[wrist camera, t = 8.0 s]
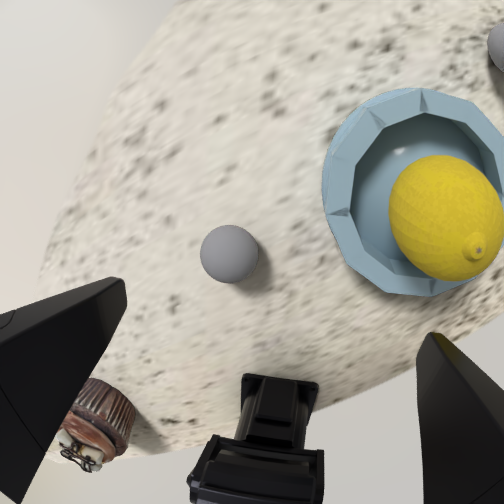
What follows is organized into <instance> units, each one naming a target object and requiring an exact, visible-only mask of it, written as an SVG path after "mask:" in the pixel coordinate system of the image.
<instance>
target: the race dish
mask: <svg viewBox="0 0 504 504" xmlns="http://www.w3.org/2000/svg"><path fill="white" fill-rule="evenodd" d="M430 155H449V156H452V157H455V158H459V159H462V160H464V161H466V162H468V163H469V164H471V165H472V166H474V167H475V168H476V169H478V170H479V171H480V172H481V173H482V174H483V175H484V176H485V177H486V178H487V179H488V181H489V182H490V183H491V185H492V186H493V187H494V189H495V190H496V192H497V194H498V196H499V199H500V201H501V204H502V207H503V211H504V137H503V136H502V135H501V133H500V132H499V131H498V130H497V129H496V127H495V126H494V125H493V124H492V123H491V122H490V121H489V119H488V118H487V117H486V116H485V115H484V114H483V113H482V112H481V111H480V110H479V108H478V107H477V106H476V105H475V104H474V103H472V102H470V101H467V100H464V99H460V98H457V97H453V96H450V95H447V94H444V93H441V92H438V91H435V90H430V89H424V88H405V89H397V90H393V91H389V92H386V93H382V94H380V95H378V96H375V97H373V98H371V99H369V100H368V101H366V102H365V103H363V104H362V105H360V106H359V107H358V108H356V109H355V110H354V111H353V112H352V113H351V114H350V115H349V116H348V117H347V118H346V119H345V121H344V122H343V123H342V124H341V125H340V127H339V129H338V130H337V132H336V133H335V135H334V136H333V139H332V141H331V143H330V145H329V148H328V150H327V154H326V157H325V160H324V166H323V172H322V197H323V206H324V210H325V214H326V218H327V221H328V223H329V226H330V229H331V231H332V233H333V235H334V236H335V238H336V240H337V242H338V244H339V247H340V249H341V252H342V254H343V256H344V259H345V261H346V263H347V264H348V265H349V266H350V267H352V268H353V269H355V270H356V271H357V272H359V273H360V274H361V275H363V276H364V277H366V278H367V279H368V280H370V281H371V282H372V283H374V284H375V285H376V286H378V287H379V288H380V289H382V290H383V291H384V292H387V293H397V294H407V295H416V296H427V297H431V296H432V297H433V296H435V295H438V294H440V293H443V292H445V291H448V290H450V289H452V288H455V287H457V286H459V285H462V284H464V283H466V282H469V281H471V280H473V279H474V278H476V277H477V276H478V275H479V274H478V275H476V276H474V277H472V278H470V279H467V280H463V281H456V282H455V281H443V280H440V279H437V278H434V277H431V276H429V275H427V274H426V273H424V272H423V271H421V270H420V269H419V268H417V267H416V266H415V265H413V264H412V263H411V262H410V261H409V259H408V258H407V257H406V256H405V254H404V253H403V252H402V251H401V250H400V248H399V247H398V244H397V242H396V240H395V238H394V236H393V233H392V231H391V227H390V221H389V216H388V208H389V197H390V194H391V190H392V187H393V184H394V183H395V181H396V179H397V178H398V176H399V174H400V173H401V172H402V171H403V170H404V169H405V168H406V167H407V166H408V165H410V164H411V163H413V162H414V161H416V160H418V159H420V158H423V157H427V156H430ZM503 245H504V238H503V242H502V245H501V248H502V246H503ZM501 248H500V249H501Z"/></svg>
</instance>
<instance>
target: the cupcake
mask: <svg viewBox="0 0 504 504" xmlns="http://www.w3.org/2000/svg"><path fill="white" fill-rule="evenodd" d="M134 418H135V410H134V408H133V405H132V403H131V402H130V401H129V400H128V399H127V398H126V396H124V395H123V394H122V393H121V392H120V391H119V390H117V389H116V388H114V387H112V386H111V385H109V384H108V383H106V382H104V381H102V380H99V379H95V378H88V379H87V381H86V383H85V384H84V386H83V388H82V390H81V391H80V393H79V395H78V396H77V398H76V400H75V401H74V403H73V405H72V407H71V408H70V410H69V412H68V414H67V415H66V417H65V419H64V421H63V423H62V424H61V426H60V428H59V430H58V432H57V433H56V436H55V438H56V439H57V440H58V442H59V445H60V446H61V447H62V451H61V452H60V453H61V455H62V456H63V457H65V458H67V459H68V460H71V461H74V462H76V463H77V464H78V465H79V466H80V467H81V468H82V469H83V470H84V471H86V472H89V473H92V471H99V470H100V469H101V468H102V464H104V463H107V462H110V461H112V460H113V459H114V457H116V456H120V455H122V454H123V453H124V452H125V451H126V449H127V448H128V443H129V436H130V432H131V428H132V425H133V422H134ZM72 457H73V458H77V459H80V460H81V464H80V463H78V462H77V461H76V460H75V459H72ZM91 470H92V471H91Z"/></svg>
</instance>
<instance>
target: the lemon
mask: <svg viewBox="0 0 504 504" xmlns="http://www.w3.org/2000/svg"><path fill="white" fill-rule="evenodd" d="M388 216H389V221H390V227H391V231H392V233H393V236H394V238H395V240H396V242H397V244H398V247H399V248H400V250H401V251H402V252H403V253H404V254H405V256H406V257H407V258H408V259H409V261H410V262H411V263H412V264H413V265H415V266H416V267H417V268H419V269H420V270H421V271H423V272H424V273H426V274H427V275H429V276H431V277H434V278H437V279H440V280H443V281H455V282H456V281H463V280H467V279H470V278H472V277H474V276H476V275H478V274H480V273H481V272H482V271H484V270H485V269H486V268H487V267H488V266H489V265H490V264H491V263H492V261H493V260H494V259H495V257H496V256H497V254H498V252H499V250H500V248H501V245H502V242H503V238H504V211H503V207H502V204H501V201H500V199H499V196H498V194H497V192H496V190H495V189H494V187H493V186H492V185H491V183H490V182H489V181H488V179H487V178H486V177H485V176H484V175H483V174H482V173H481V172H480V171H479V170H478V169H476V168H475V167H474V166H472V165H471V164H469V163H468V162H466V161H464V160H462V159H459V158H455V157H452V156H449V155H430V156H427V157H423V158H420V159H418V160H416V161H414V162H413V163H411V164H410V165H408V166H407V167H406V168H405V169H404V170H403V171H402V172H401V173H400V174H399V176H398V178H397V179H396V181H395V183H394V184H393V187H392V190H391V194H390V197H389V208H388Z"/></svg>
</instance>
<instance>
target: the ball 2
mask: <svg viewBox="0 0 504 504" xmlns="http://www.w3.org/2000/svg"><path fill="white" fill-rule="evenodd" d="M487 44H488V51H489V54H490V56H491V59H492V60H493V62H494V64H495V65H496V66H497V67H498V68H499V69H500V70H501V71H502V72H503V73H504V23H501V24H499V25H497V26H495V27H494V28H493V29H492V30H491V32H490V34H489V36H488V43H487Z"/></svg>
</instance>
